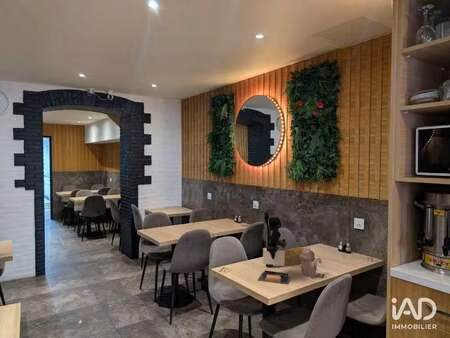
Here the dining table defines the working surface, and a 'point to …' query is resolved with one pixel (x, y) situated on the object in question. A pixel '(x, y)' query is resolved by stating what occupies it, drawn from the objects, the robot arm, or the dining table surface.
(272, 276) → the offcut upper
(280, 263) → the beige rectangular panel
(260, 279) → the rack
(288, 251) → the bread
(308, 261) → the toy
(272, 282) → the offcut lower
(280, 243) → the robot arm
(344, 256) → the dining table surface
